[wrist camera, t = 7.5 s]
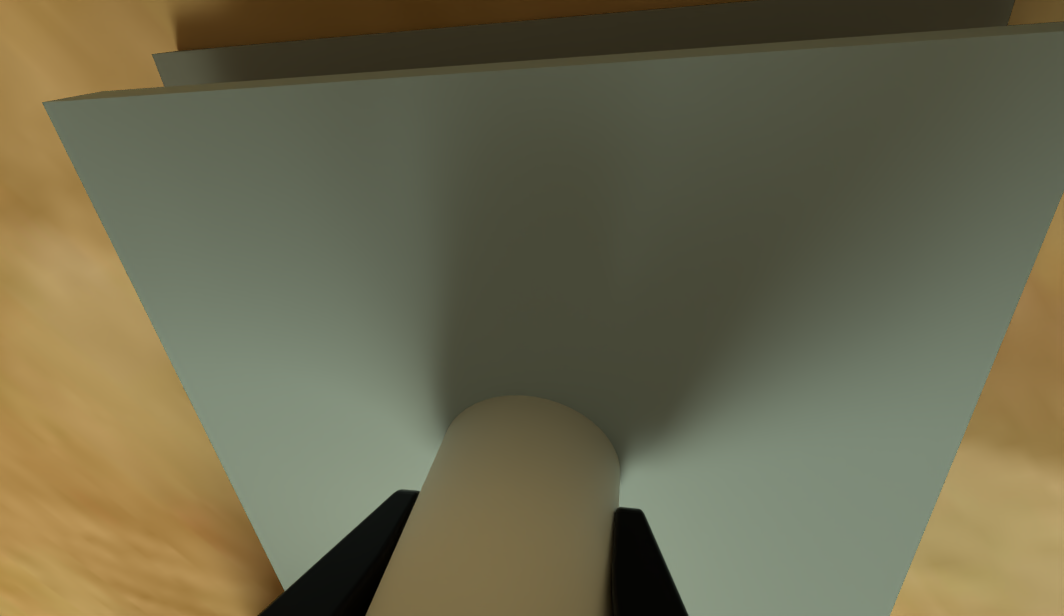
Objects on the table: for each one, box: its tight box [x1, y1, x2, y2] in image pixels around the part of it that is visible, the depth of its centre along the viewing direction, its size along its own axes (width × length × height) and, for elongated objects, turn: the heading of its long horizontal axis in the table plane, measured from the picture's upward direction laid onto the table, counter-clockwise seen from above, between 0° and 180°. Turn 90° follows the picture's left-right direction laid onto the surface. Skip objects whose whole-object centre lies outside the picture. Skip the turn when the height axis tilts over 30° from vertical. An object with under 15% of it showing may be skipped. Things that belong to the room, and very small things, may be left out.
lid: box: [42, 22, 1064, 616], centre depth 8 cm, size 13×13×6 cm
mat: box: [152, 0, 1015, 87], centre depth 12 cm, size 14×14×1 cm
